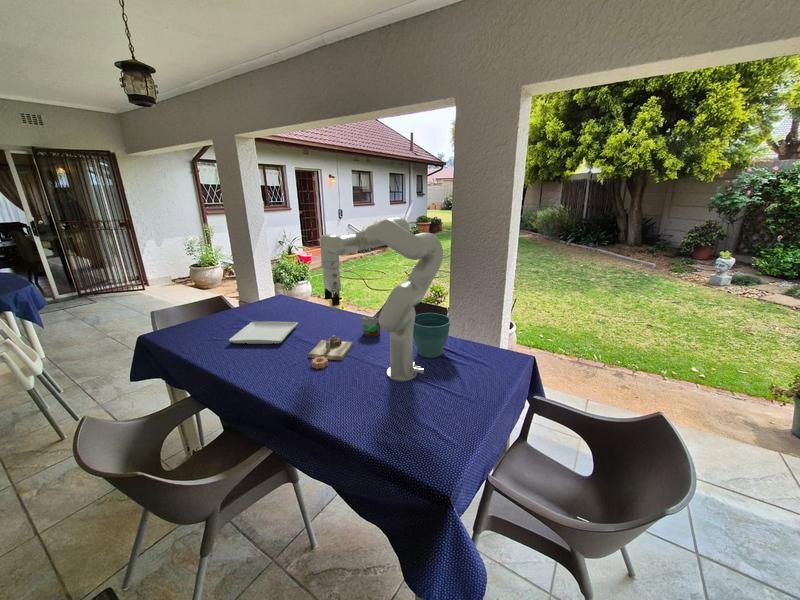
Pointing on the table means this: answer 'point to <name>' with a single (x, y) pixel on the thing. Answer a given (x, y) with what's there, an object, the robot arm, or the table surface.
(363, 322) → the food container
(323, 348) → the gear board
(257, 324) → the square plate
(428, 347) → the flower pot
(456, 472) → the table surface
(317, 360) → the terracotta gear
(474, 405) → the table surface
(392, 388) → the table surface
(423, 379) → the table surface
